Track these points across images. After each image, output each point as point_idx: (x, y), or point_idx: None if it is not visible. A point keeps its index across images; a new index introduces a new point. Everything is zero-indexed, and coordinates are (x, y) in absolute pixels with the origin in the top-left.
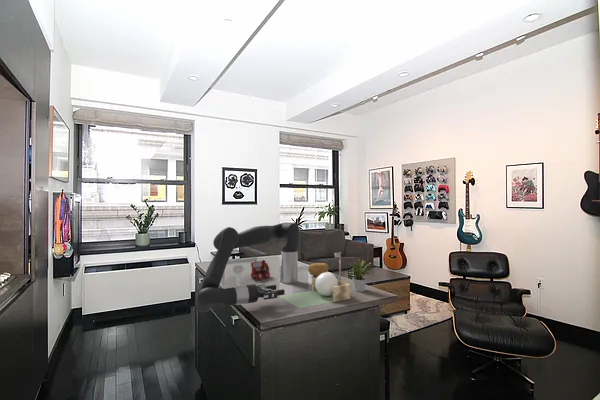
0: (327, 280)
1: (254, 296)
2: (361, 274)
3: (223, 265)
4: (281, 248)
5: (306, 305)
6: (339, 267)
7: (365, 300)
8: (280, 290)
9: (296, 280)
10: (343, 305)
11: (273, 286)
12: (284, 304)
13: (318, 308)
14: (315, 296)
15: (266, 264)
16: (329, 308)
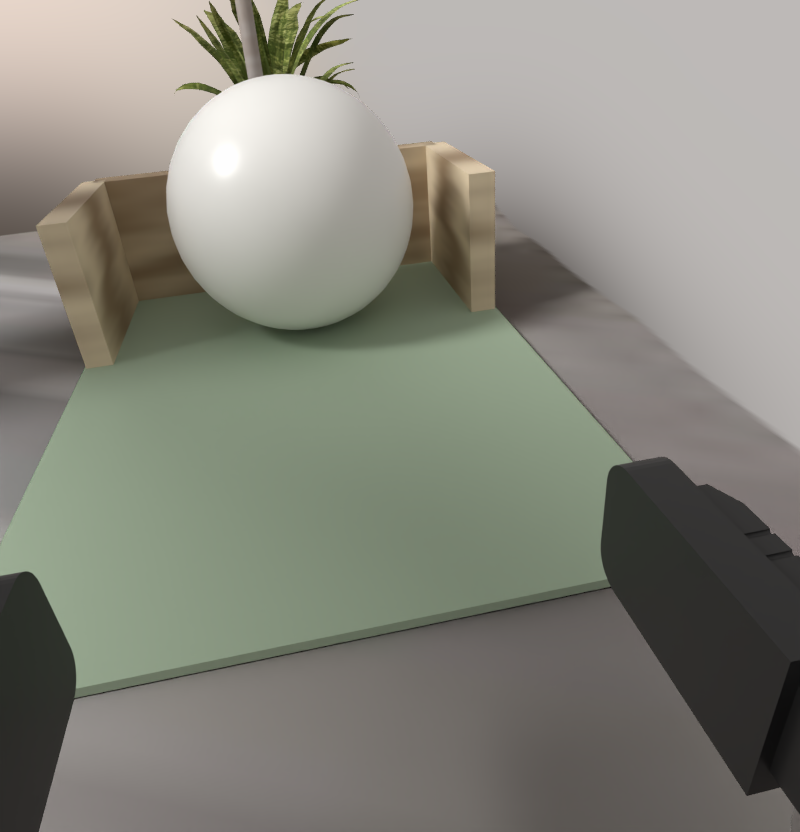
0: (382, 136)
1: None
2: (340, 83)
3: None
4: None
5: (584, 468)
6: (250, 31)
7: (498, 230)
8: (739, 539)
9: None
10: (589, 292)
11: (5, 676)
12: (428, 728)
13: (673, 406)
14: (284, 371)
15: None
16: (670, 351)
